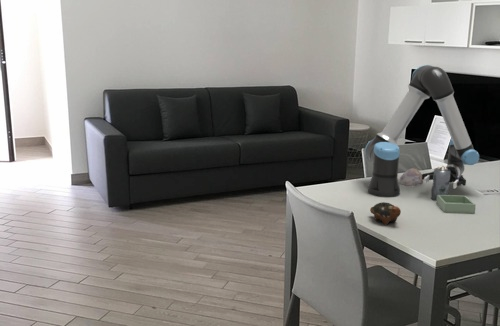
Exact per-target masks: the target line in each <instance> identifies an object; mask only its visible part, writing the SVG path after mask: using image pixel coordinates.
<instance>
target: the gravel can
mask: <svg viewBox="0 0 500 326" xmlns="http://www.w3.org/2000/svg"><path fill="white" fill-rule="evenodd" d="M433 171H434V177H433V180H432V189H431V200H432V201H434V202H435V201H436V200H437V195H449V190H450V183H449V181H450V172H451V170H449V169H447V168H446V166H443V165H442V166H441V167H440V166H438V167H435V168H434V170H433Z"/></svg>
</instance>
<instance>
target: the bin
mask: <svg viewBox="0 0 500 326" xmlns="http://www.w3.org/2000/svg"><path fill="white" fill-rule="evenodd" d="M435 204H436V206H437V207H439V209H441V211H442V212H443V213H445V214H446V213H447V214H448V213H450V214H473V215H474V214H475V213H476V212H475V211H476V203H475V202H474V201H473V200H472V199H470V198H469V197H468V196H467V195H455V194H454V195H453V194H452V195H451V194H450V195H449V194H448V195H437V200H436V202H435Z"/></svg>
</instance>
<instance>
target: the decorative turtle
mask: <svg viewBox="0 0 500 326" xmlns="http://www.w3.org/2000/svg"><path fill="white" fill-rule="evenodd" d="M369 209H370V213H371V214H373V216H374V219H375V221H376V222H381V223H382V224H383V225H385V226H387V225H388V224H389V222H391V223H393V224H394V223H396V221H397V219H398V218H399V217H400V215H401V211H402V210H401V209H400V207H399V206H395V205H394V204H392V203H389V202H385V201H383V202H382V201H381V202H378V203H376V204H375V205H373V206H372V207H370V208H369Z"/></svg>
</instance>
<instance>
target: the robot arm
mask: <svg viewBox="0 0 500 326" xmlns="http://www.w3.org/2000/svg"><path fill="white" fill-rule="evenodd" d="M407 86H408V91H407V93H406V94H405V96H404V97H403V98H402V100H401V102H400V103H399V105H398V106H397V108H396V110H395V111H394V112H393V115H391V117H390V119H389V120H388V122H387V123H386V125H385V126H384V128H383V130H382V131H381V132H377V133H376V135H375V136H374V138H373V139H371V140H370V141H368V142H367V144H366V146H365V148H364V149H365V150H364V153H365V156H366V157H365V158H366V159H367V160H368V161H369V162H370V163H372V173H371V178H370V180H369V183H368V185H367V189H366V190H367V191H366V192H367V193H368V194H370V195H372V196H376V197H384V198H391V197H393V198H394V197H398V196H399V195H400V194H401V188H400V183H399V179H398V173H399V162H400V154H401V152H400V147H399V145H398V140H399V139H400V137H401V136H402V134H403V133H404V131H405V130H406V128H407V127H408V125H409V124H410V122H411V121H412V119H413V118H414V116H415V115H416V113H417V112H418V110H419V109H420V107H421V106H422V105H423V103H424V101H425V100H428V99H430V97H431V98H432V100H433V101H435V103H436V104H437V107H438V109H439V111H440V113H441V117H442V118H443V121H444V124H445V126H446V129H447V132H448V134H449V136H450V140H449V144H448V155H447V165H446V166H445V167H446V168H447V169H449V170H451V172H450V181H449V184H450V183H453V185H452V186H453V187H452V189H456V188H457V187H460V186H464V187H465V186H466V185H467V179H466V178H465V177H464V175H462V174H463V173H464V172H465V165H467V166H474V165H476V164H477V163H478V162H479V160H480V154H479V152H478V151H477V150H475V149H474V145H473V144H472V141H471V138H470V136H469V133H468V130H467V128H466V126H465V122H464V121H463V118H462V115H461V113H460V110H459V108H458V105H457V102H456V100H455V97H454V93H455V90H454V88H453V86H452V83H451V80H450V78H449V76H448V74H447V72H446V70H444V69H443V68H442V67H440V66H433V65H429V64H424V65H422V66H419V67H417V68H416V69H415V70H414V71H413V72H412V75H411V80H410V81H409V84H408V85H407ZM421 174H422V179H423V184H424V185H426V184H427V183H429V181H433V177H434V170H433V171H431V172H425V173H421ZM466 187H467V186H466Z"/></svg>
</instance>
